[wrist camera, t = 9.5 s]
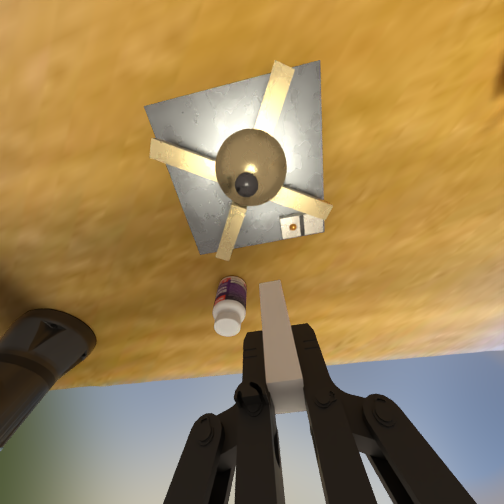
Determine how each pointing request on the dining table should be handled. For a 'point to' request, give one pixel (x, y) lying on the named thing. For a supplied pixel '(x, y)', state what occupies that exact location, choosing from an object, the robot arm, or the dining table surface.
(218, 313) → the pill bottle
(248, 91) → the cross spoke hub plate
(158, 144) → the four spoke knob plate
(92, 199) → the dining table surface
